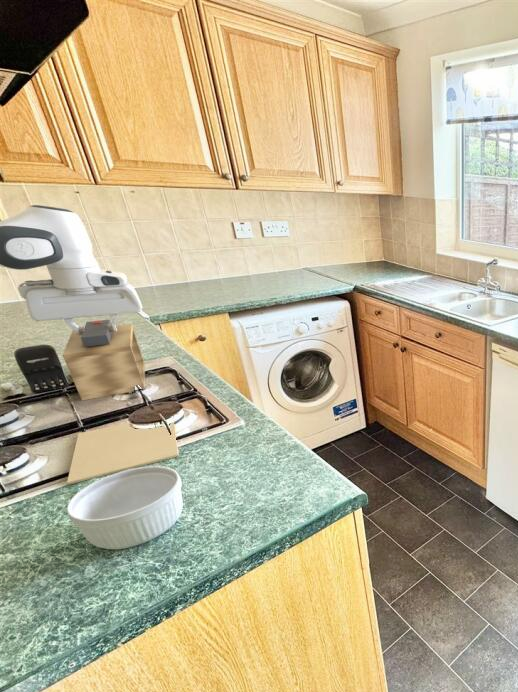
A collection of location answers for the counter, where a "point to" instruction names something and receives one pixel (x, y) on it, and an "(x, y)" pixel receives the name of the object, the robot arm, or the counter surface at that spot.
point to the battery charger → (41, 367)
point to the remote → (96, 333)
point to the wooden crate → (106, 364)
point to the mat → (120, 450)
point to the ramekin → (128, 507)
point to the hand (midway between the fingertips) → (98, 332)
